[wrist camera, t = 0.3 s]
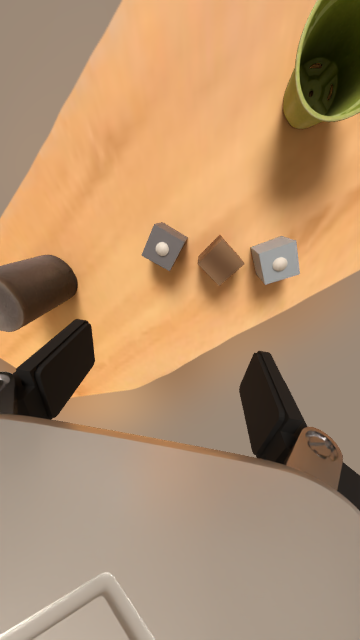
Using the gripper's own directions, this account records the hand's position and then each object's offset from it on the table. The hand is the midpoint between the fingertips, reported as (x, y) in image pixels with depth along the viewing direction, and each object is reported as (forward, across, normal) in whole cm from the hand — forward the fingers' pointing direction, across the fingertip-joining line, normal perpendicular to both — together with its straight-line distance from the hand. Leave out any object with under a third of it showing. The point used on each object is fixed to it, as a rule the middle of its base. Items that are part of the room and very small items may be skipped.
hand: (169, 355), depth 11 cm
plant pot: (+27, -11, -22) cm, 37 cm away
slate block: (+28, -13, -3) cm, 31 cm away
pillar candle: (+28, +28, +9) cm, 41 cm away
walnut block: (+28, -5, -1) cm, 28 cm away
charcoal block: (+28, +4, -2) cm, 28 cm away
